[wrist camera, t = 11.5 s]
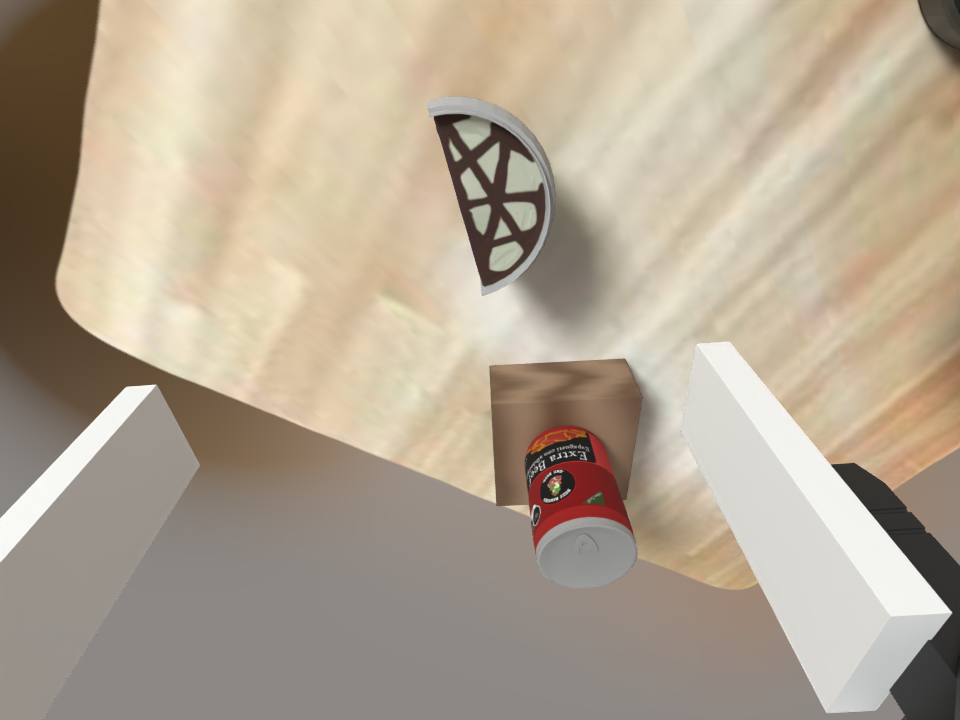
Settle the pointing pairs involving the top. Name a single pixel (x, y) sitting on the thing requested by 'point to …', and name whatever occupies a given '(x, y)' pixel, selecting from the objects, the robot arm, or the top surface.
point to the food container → (496, 185)
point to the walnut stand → (561, 415)
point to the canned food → (577, 510)
